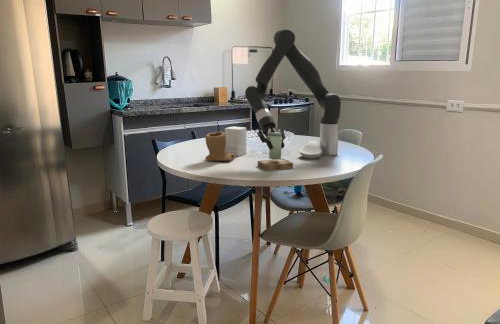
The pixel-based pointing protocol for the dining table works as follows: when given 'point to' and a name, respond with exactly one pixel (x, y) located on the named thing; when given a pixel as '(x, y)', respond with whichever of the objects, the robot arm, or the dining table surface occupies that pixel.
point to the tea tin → (275, 145)
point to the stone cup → (217, 147)
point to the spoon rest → (310, 150)
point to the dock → (275, 164)
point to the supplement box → (235, 140)
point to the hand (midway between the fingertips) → (277, 147)
